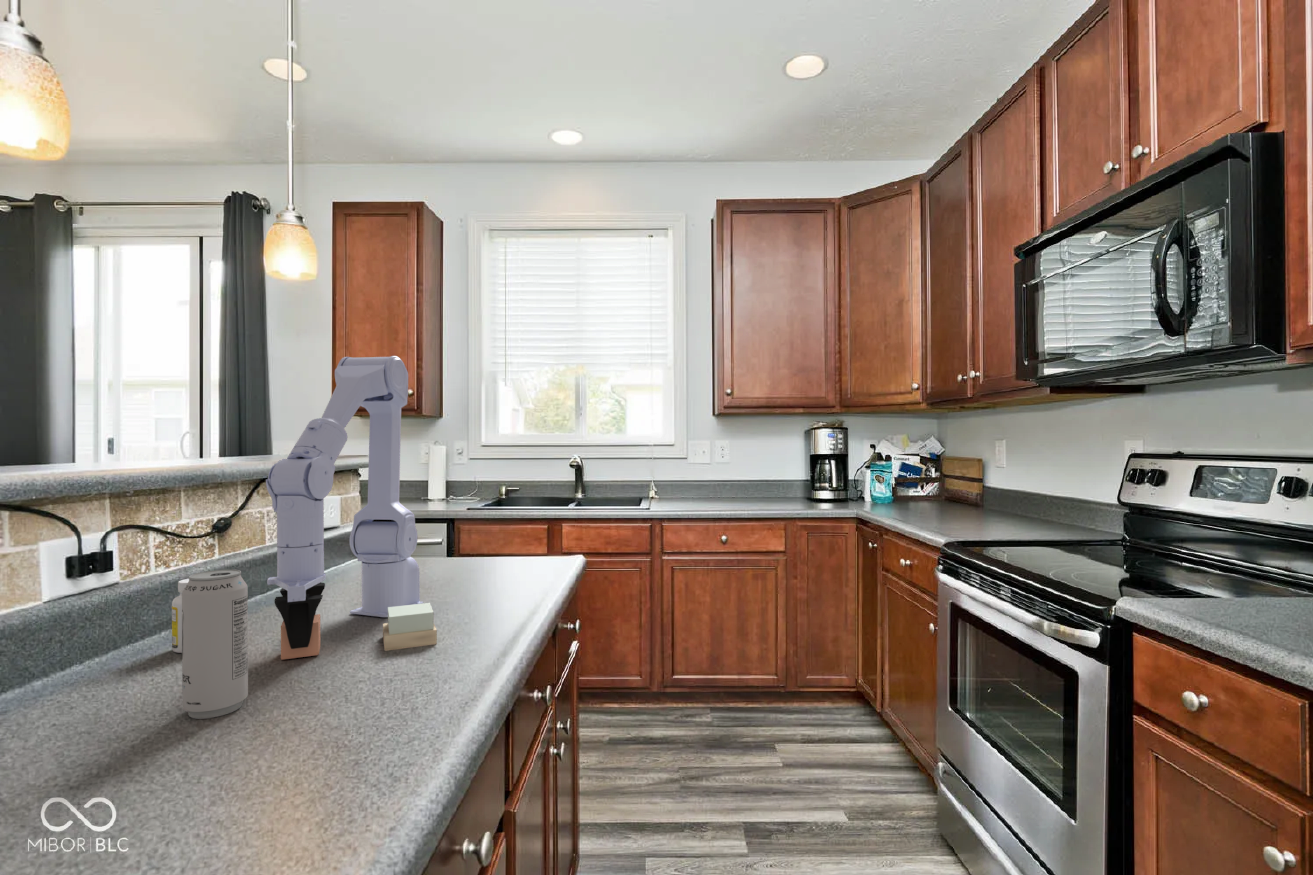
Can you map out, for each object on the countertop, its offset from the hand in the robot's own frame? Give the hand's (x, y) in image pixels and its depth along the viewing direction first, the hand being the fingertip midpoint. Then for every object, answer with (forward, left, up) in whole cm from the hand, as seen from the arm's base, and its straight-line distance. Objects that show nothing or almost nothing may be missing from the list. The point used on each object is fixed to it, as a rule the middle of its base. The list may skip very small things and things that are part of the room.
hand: (301, 641), depth 90 cm
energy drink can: (+17, +7, -2) cm, 19 cm away
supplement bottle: (+3, -17, -2) cm, 17 cm away
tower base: (-10, +10, -2) cm, 14 cm away
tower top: (-10, +10, 0) cm, 14 cm away
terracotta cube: (0, 0, -1) cm, 1 cm away
